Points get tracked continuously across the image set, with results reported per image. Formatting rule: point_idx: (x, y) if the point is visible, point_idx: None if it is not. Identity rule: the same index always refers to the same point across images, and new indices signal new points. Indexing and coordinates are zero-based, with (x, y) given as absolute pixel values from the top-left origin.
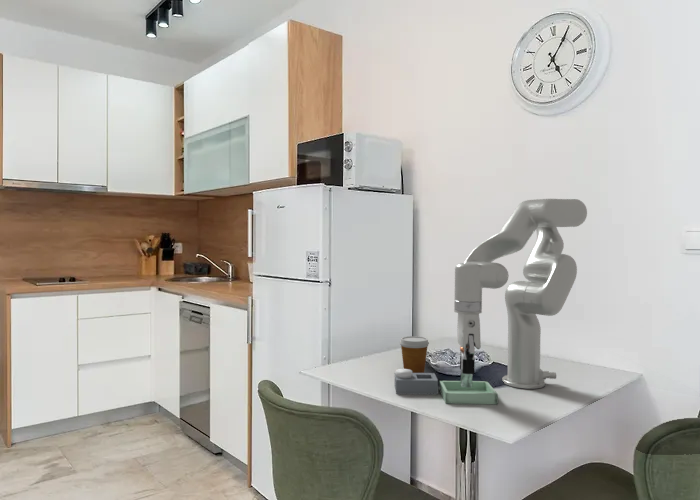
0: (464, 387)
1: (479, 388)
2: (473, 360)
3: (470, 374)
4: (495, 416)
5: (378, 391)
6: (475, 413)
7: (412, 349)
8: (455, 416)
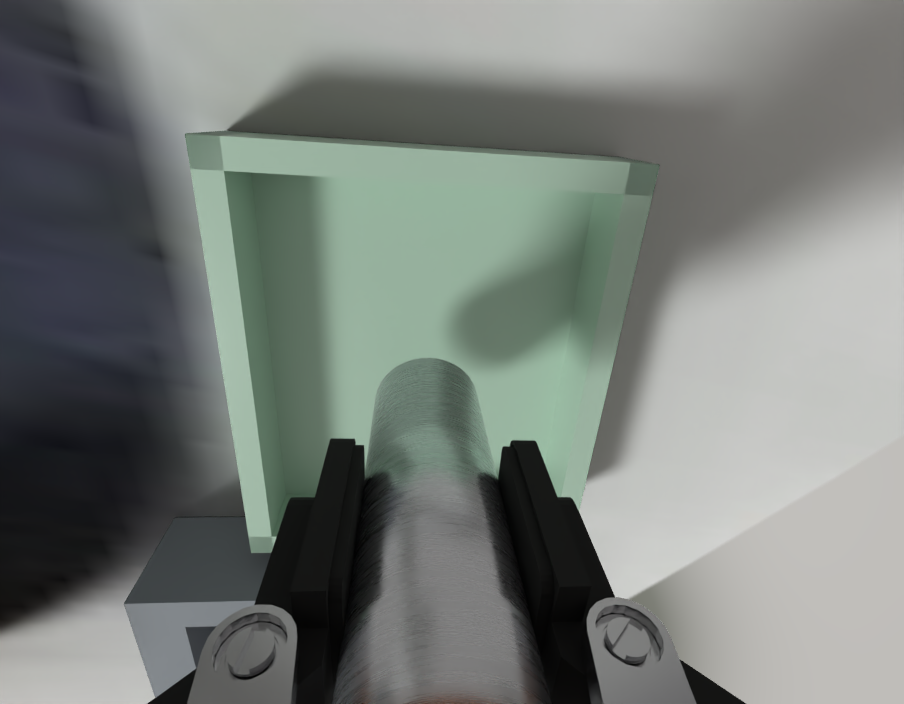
0: (265, 356)
1: (255, 223)
2: (581, 587)
3: (490, 456)
4: (852, 259)
5: None
6: (757, 370)
7: None
8: (766, 479)
